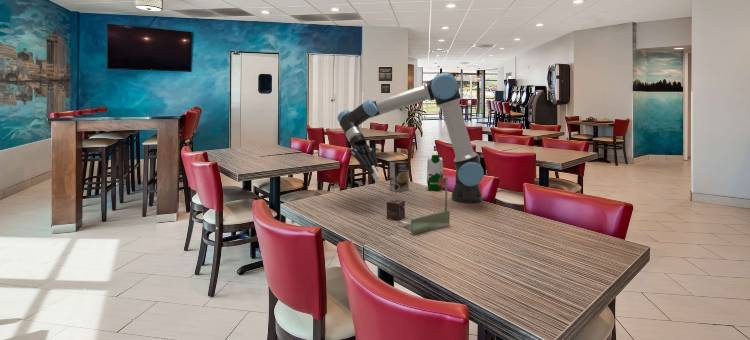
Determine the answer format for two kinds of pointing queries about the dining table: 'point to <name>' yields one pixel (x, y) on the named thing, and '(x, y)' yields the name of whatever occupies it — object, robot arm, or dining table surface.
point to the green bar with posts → (429, 217)
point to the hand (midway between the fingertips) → (377, 178)
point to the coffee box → (399, 176)
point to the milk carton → (434, 172)
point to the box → (396, 209)
